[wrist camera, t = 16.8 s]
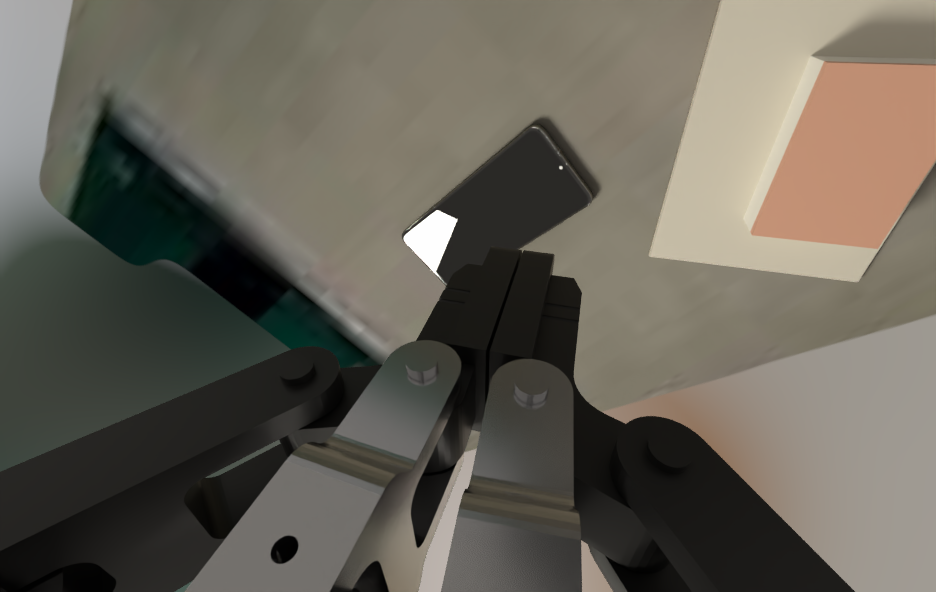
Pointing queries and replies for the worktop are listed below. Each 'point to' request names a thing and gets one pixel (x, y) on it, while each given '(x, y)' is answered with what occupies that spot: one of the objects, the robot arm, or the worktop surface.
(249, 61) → the worktop surface
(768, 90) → the mat
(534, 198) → the smartphone
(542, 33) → the worktop surface
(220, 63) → the worktop surface
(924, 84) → the block
